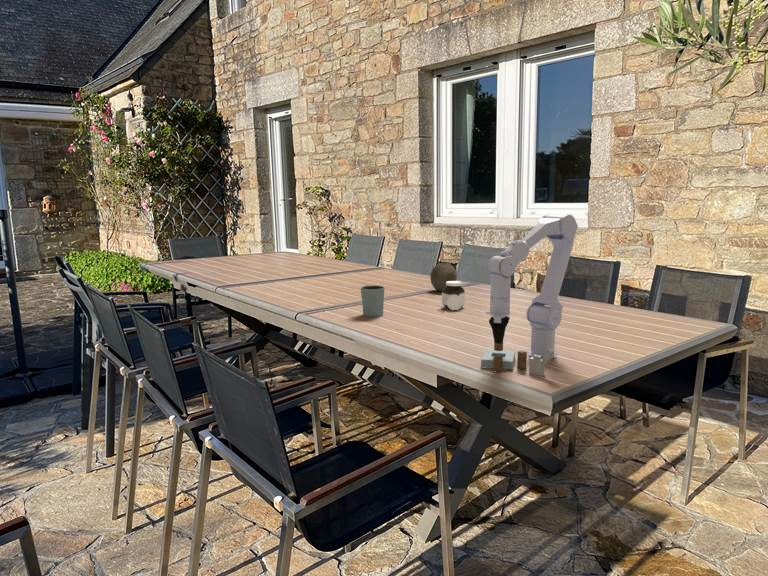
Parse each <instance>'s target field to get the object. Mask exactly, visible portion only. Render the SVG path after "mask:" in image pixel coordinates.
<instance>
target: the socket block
mask: <svg viewBox="0 0 768 576" xmlns="http://www.w3.org/2000/svg"><path fill="white" fill-rule="evenodd" d="M495 356H500V357H503V366H502V370H505V369H512V370H511V371H513V370H514V366H515V361H516V350H508V349H506V350H505V349H503V351H495V350H494V348H492V349H491V348H485V349H484V351H483V354H482V356H481V359H480V368H481V367H488V368H487V369H492V368H493V357H495ZM513 365H514V366H513Z"/></svg>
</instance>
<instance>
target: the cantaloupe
mask: <svg viewBox="0 0 768 576" xmlns="http://www.w3.org/2000/svg"><path fill="white" fill-rule="evenodd" d="M457 277H458V274H457V270H456V268H455V267H454V266H453V265H452V264H450V263H448V262H441V263H438V264H436V265H435V266H433V268H432V270H431V272H430V278H429V279H430V282H431V285H432V288H434V289H435V290H436V291H438V292H442V291H443V289H444V288H445V287H446V282H447V281H457V279H458V278H457Z"/></svg>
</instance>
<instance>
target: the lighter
mask: <svg viewBox="0 0 768 576" xmlns="http://www.w3.org/2000/svg"><path fill="white" fill-rule="evenodd" d="M554 352H555V351H554V350H553V349H548V350H547V352H546V354H545V356H544V357H541V356H539V355H533V357H529V359H528V362H529V363H528V373H529V374H532V375H535V376H539V377H542V376H545V372H546V371H545V367H546V365H547V364H549V363H550V361H551V360H552V359H553V358H552V356H553V354H554Z"/></svg>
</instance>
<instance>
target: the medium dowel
mask: <svg viewBox="0 0 768 576" xmlns="http://www.w3.org/2000/svg"><path fill="white" fill-rule="evenodd" d="M527 358H528V351H525V350H518V351H517V358H516V359H517V361H516V363H517V364H516V369H517V370H518V369H520V370H519V371H526V370H527V364H528V363H527V362H528V359H527Z"/></svg>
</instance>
